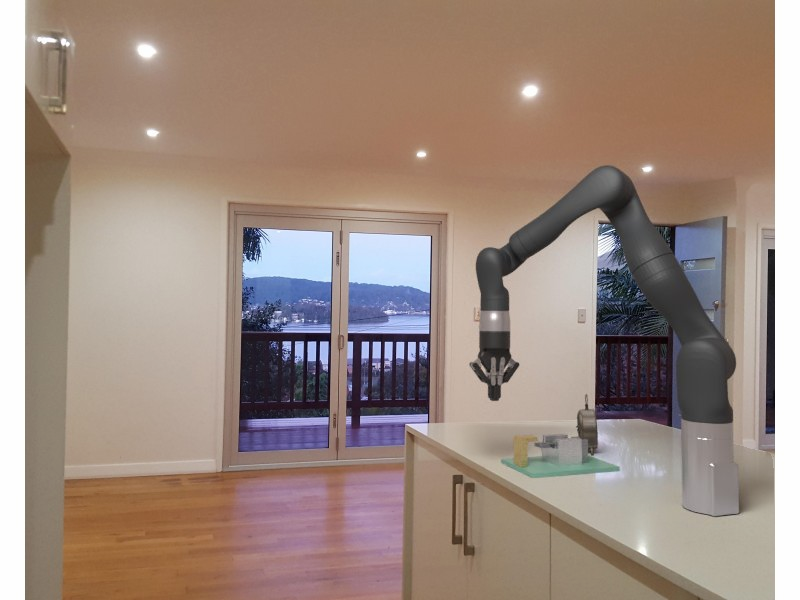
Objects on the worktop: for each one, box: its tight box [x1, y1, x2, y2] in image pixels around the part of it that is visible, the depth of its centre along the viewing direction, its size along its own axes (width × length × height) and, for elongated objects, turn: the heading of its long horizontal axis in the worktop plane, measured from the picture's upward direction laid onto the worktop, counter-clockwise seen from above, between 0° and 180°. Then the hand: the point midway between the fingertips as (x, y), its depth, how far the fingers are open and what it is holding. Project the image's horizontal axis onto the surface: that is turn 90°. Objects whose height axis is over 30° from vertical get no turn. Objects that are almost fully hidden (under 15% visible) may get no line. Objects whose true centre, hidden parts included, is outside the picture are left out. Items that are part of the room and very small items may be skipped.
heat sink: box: [541, 433, 589, 467], centre depth 157 cm, size 8×10×6 cm
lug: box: [513, 434, 538, 467], centre depth 153 cm, size 4×5×7 cm
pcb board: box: [500, 455, 621, 479], centre depth 156 cm, size 16×24×1 cm, turn 108°
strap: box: [533, 441, 555, 449], centre depth 156 cm, size 3×12×1 cm, turn 107°
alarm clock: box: [575, 393, 599, 456], centre depth 174 cm, size 11×5×16 cm, turn 168°
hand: (494, 400), depth 151 cm, fingers closed
